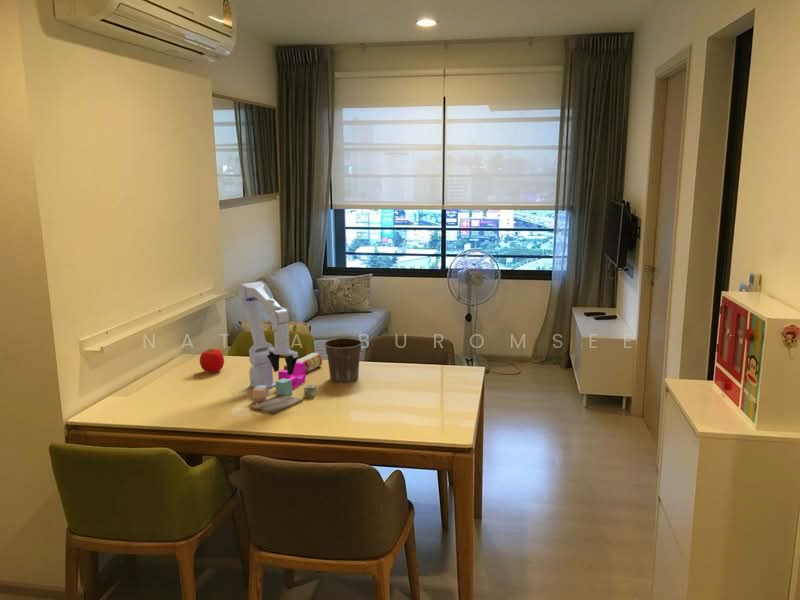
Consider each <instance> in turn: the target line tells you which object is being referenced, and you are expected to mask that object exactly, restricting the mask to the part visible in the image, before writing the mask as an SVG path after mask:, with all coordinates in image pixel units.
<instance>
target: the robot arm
mask: <svg viewBox="0 0 800 600" xmlns="http://www.w3.org/2000/svg"><path fill="white" fill-rule="evenodd" d="M238 285H239V286H238V289H237V294H238V298H239V302H240V304H241V305H242V306H243V307H244V309H245V315H246V317H247V321H248V327H249V330H250V333H251V338H252V342H253V344H252V346H250V348H249V349H248V354H249V355H248V356H249V362H250V365H251V366H250V368H249V385H248V386H249V387H250V388H255V387H257V386H258V385H266V386H268V389H270V388H272V387H276V383H275V381H274V374H273V373H275V372H276V373H277V372H278V371H280V357H281V356H285V357H286V358H284V361H285V363H286V364H285V365H287V369H288V375H291V374H293V371H294V367H295V363H296V361H297V360H298V359H299V352H298V351H295V350H293V349H290V334H289V333H290V332H289V331H290V330H289V323H290V322H291V320H292V317H291V316H292V315H291V312H290V310H289V309H288V308H287V307H282V306H281V305H280V304H279V303H278V301H276V300H275V299H274V298H270V296H269V295H268V293H267V292H266V286H265V284H264V282H262V281H261V280H260V281H256V282H249V283H240V284H238ZM259 303H261V304H262V308H263V310H264V311H265V312H266V314H267V315H268V316H269V318H270V319H269V321H270V322H271V327H272V329H273V339H274V346H273V344H272V343H270V342H267V341H266V338H265V333H264V329H263V325H262V321H261V317H260V313H259V309H258V304H259Z"/></svg>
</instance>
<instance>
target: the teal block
mask: <svg viewBox="0 0 800 600" xmlns="http://www.w3.org/2000/svg"><path fill="white" fill-rule="evenodd" d="M274 383H276V385H275V396H277V395H279V394H281V395H286V396H291V395H293V390H292V381H291V380H289V379H284V378H282V379H280V380H279V379H277V380H275V381H274Z"/></svg>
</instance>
